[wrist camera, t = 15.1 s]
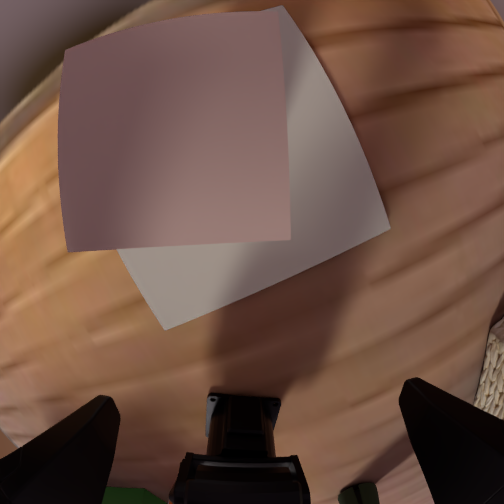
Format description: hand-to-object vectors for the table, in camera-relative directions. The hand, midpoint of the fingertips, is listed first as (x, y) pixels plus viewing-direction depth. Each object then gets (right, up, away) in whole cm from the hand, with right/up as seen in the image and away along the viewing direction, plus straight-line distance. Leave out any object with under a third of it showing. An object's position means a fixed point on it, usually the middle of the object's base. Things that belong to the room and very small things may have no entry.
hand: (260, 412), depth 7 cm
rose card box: (-2, +10, +10) cm, 14 cm away
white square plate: (-2, +10, +11) cm, 15 cm away
